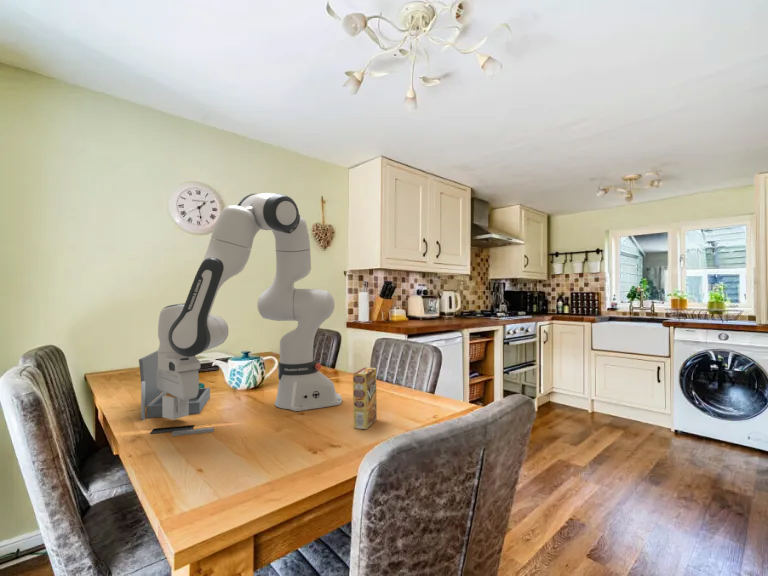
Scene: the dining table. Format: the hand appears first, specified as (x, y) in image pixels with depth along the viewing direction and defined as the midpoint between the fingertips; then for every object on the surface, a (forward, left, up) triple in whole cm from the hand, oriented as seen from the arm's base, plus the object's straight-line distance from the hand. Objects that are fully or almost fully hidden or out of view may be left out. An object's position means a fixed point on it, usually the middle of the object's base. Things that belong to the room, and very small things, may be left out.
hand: (175, 409), depth 104 cm
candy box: (-52, +13, -5) cm, 54 cm away
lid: (+10, -16, +7) cm, 20 cm away
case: (+2, -16, -5) cm, 16 cm away
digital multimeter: (+5, -36, -5) cm, 37 cm away
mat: (0, -1, -5) cm, 5 cm away
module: (0, 0, -2) cm, 2 cm away
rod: (-6, +7, -5) cm, 10 cm away
